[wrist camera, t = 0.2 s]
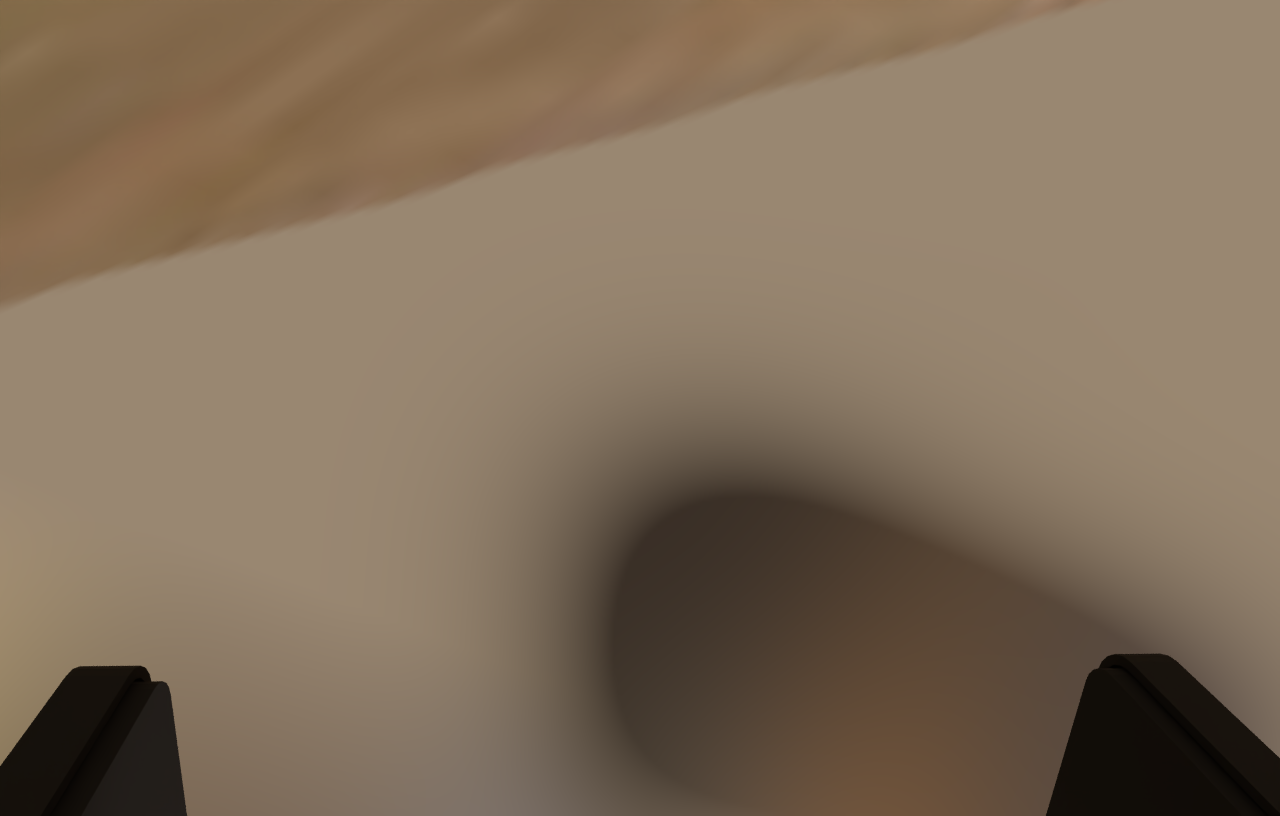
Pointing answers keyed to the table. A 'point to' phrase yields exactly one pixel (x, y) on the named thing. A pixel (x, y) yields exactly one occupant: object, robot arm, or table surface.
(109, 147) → the table surface
